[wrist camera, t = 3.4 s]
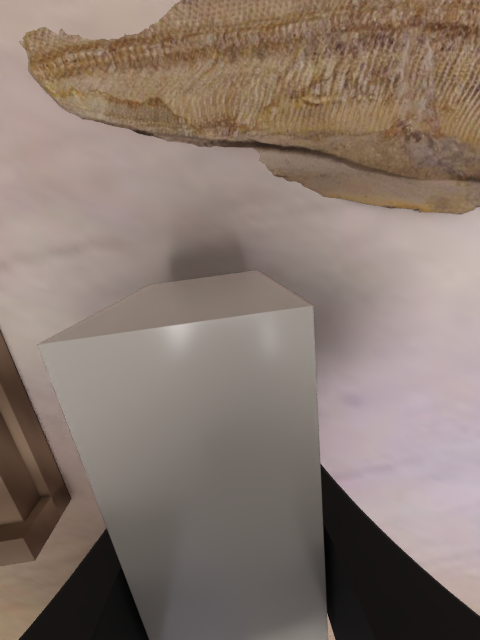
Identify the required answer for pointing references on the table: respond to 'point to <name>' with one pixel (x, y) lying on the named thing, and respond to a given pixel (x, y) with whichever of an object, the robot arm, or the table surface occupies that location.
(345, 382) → the table surface
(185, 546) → the clay bar
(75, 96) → the fish fossil
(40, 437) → the rack
